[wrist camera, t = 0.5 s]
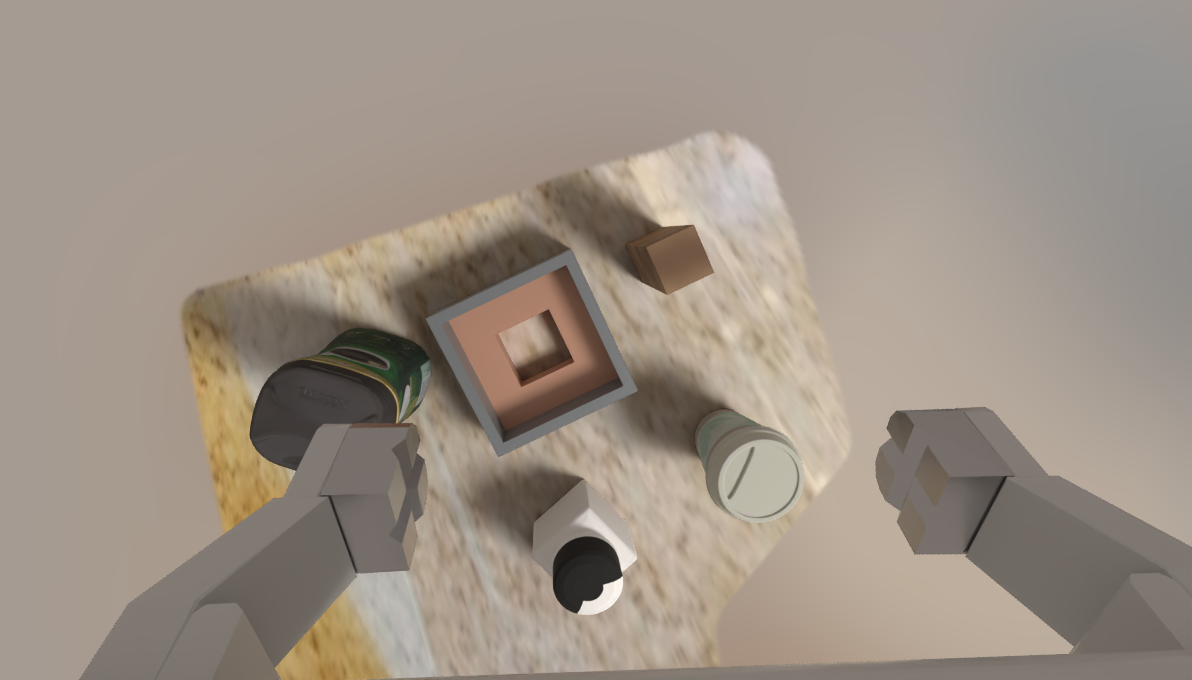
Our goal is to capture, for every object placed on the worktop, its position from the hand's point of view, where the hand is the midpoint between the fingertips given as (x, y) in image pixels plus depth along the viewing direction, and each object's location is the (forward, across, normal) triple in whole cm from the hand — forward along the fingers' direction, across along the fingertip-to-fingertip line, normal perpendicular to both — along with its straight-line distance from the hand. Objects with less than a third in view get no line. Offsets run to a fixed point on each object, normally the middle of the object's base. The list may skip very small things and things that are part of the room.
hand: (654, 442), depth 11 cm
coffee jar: (+41, -20, -29) cm, 54 cm away
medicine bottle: (+35, -2, -45) cm, 57 cm away
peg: (+46, +6, -20) cm, 51 cm away
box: (+42, -6, -27) cm, 51 cm away
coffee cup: (+39, +13, -37) cm, 55 cm away
